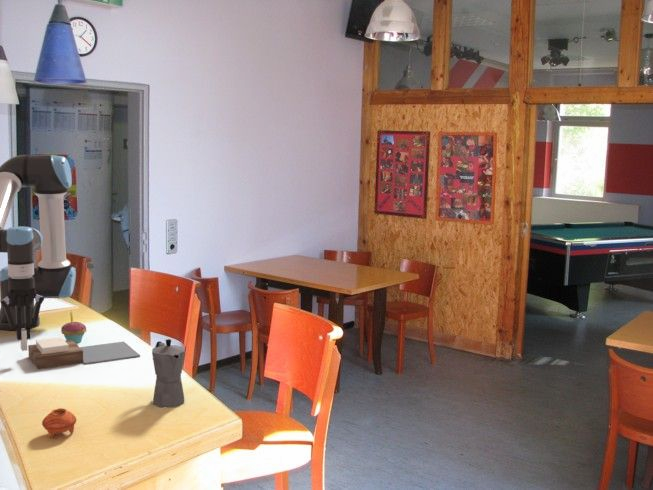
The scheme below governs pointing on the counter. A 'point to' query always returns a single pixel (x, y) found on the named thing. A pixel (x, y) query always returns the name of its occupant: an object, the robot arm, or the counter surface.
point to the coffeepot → (168, 374)
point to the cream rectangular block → (52, 345)
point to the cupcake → (73, 330)
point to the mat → (107, 352)
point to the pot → (59, 422)
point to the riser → (56, 356)
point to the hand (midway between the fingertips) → (24, 349)
